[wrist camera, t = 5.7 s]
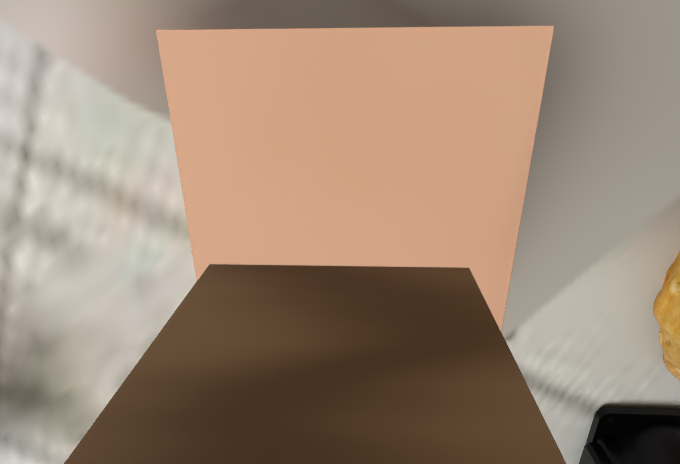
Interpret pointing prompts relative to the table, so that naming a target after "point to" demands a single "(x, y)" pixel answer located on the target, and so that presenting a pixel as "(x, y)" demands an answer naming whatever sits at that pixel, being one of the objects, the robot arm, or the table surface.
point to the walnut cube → (325, 375)
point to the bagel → (670, 318)
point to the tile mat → (357, 145)
